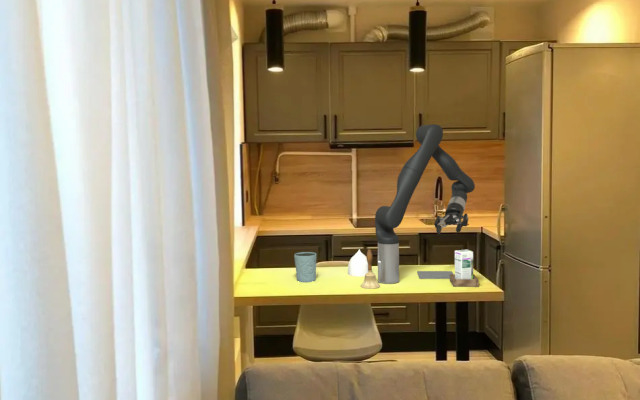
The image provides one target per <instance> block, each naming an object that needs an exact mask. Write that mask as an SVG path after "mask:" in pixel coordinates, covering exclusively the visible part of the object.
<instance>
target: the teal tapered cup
mask: <svg viewBox="0 0 640 400" xmlns="http://www.w3.org/2000/svg"><path fill="white" fill-rule="evenodd" d="M293 255H294V256H293V257H294V265H295V272H296V273H295V274H296V275H295V276H296V281H297V282H298V281H299V282H300V283H311V282H312V281H313V282H316V279H317V253H316V252H313V251H301V252H296V253H294V254H293ZM299 282H298V283H299Z"/></svg>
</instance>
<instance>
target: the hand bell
mask: <svg viewBox="0 0 640 400" xmlns="http://www.w3.org/2000/svg"><path fill="white" fill-rule="evenodd" d="M366 257H367V262H368V273H366V274H365V276H364V279H363V282H362V284H361V285H360V287H361V288H363V289H365V290H374V289H379V288H380V287H381V285H380V284H379V283H378V279H377V276H376V273H374V272H373V269H372V268H373V265H372V264H373V260H374V259H373V258H374V257H373V253H372V249H367V252H366Z"/></svg>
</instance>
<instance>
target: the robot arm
mask: <svg viewBox="0 0 640 400" xmlns="http://www.w3.org/2000/svg"><path fill="white" fill-rule="evenodd" d="M415 136H416V140H417V142H418V143H419V144H420V146H419V148H418V149H417V151H415V153H414V154H412V156H411V157H410V158H409V159H407V160H406V161H405V164H404V165H403V166H402V168H401V169H400V172H399V174H398V177H397V181H396V193H395V197H394V199H393V201H392V203H391V204H390V206H388V205H382V206H379V208H378V209H377V210H376V212H375V216H374V225H375V226H374V227H375V229H374V230H375V236H376V238H377V282H378V284H379V283H380V284H397V283H399V282H400V251H399V250H400V243H399V240H400V239H399V235H397V233H396V232H395V231H394V229H396V228H398V227H399V226H400V225H401V223H402V221H403V219H404V216H405V213H406V212H407V209H408V206H409V203H410V201H411V199H412V196H413V195H414V192H415V190H416V189H417V186H418V184H419V183H420V181H421V179H422V177H423V175H424V172H425V171H426V168H427V166H428V164H429V162H430V160H431V158H433V160H434V161H435V162H436V163H437V164H438V166H439V167H440V168H441V170H442V171H443V172H444V174H445V176H446V177H447V179H448V180H449V181H454V182H453V183H452V184H451V186H450V187H451V188H450V189H451V198H450V199H449V202H448V204H447V206H446V210H445V211H444V213H445V214H444V216H441V215H438V216H436V218H435V221H434V223H433V225H434V228H435V229H436V230H435V231H436V234H437V235H441V232H442V229H444V228H446V227H447V226H451V225H456V228H455V230H456V231H455V232H456V233H457V234H458V233H460V232H461V230H462V228H463V227H468V222H469V216H468V214H467V213H464V212H465V210H466V204H467V201H468V193H472V192H473V191H474V190H475V187H476V184H475V181H474V180H473V179H472V178H471V177H470V176H469V175H468V174H466V172H464V171H463V170H462V169H461V167H460V166H459V164H458V163H457V162H456V159H454V157H452V156H451V155H450V154H449V153H447V151H445V150H444V149H443V147H441V146H440V144H441V143H442V140H443V136H444V131H443V128H442V126H441V125H439V124H434V123H433V124H425V125H420V126H419V127H418V128H417V129H416V132H415Z"/></svg>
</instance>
